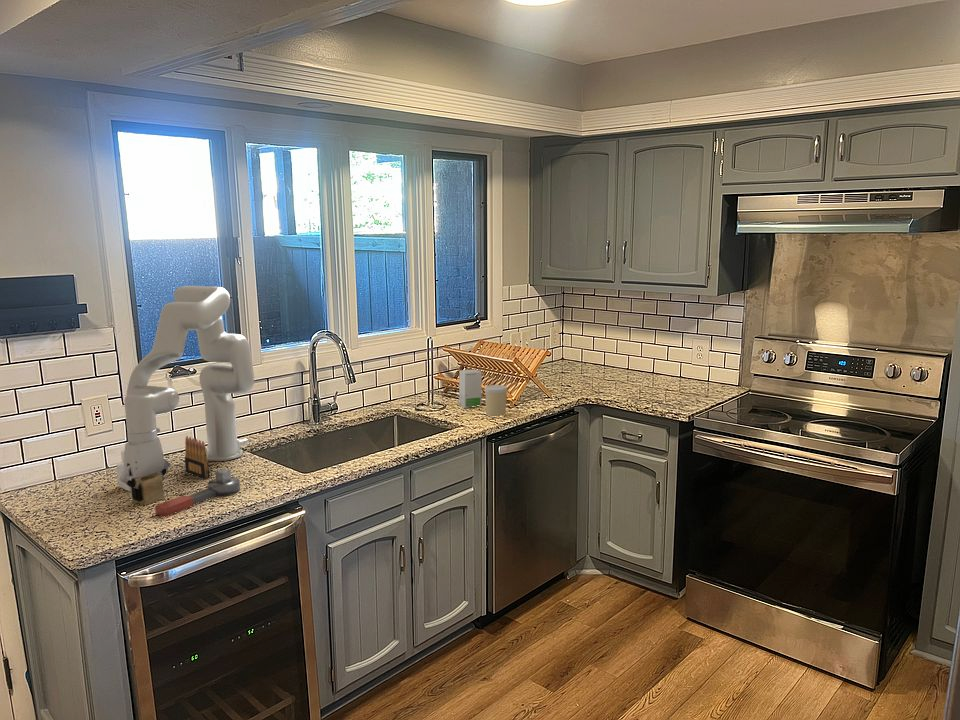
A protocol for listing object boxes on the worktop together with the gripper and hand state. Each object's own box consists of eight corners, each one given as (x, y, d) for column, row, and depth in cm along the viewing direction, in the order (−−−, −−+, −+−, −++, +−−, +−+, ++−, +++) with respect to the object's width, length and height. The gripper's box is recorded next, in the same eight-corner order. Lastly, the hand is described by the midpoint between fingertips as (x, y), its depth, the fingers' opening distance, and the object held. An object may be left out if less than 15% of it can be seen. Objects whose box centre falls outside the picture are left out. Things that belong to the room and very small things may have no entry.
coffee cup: (492, 411, 304) (493, 383, 302) (511, 415, 299) (511, 386, 297) (479, 416, 297) (479, 387, 294) (498, 420, 291) (498, 390, 289)
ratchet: (225, 483, 221) (224, 463, 220) (246, 488, 217) (245, 469, 216) (150, 512, 199) (148, 491, 198) (171, 518, 195) (169, 497, 194)
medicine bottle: (141, 480, 224) (138, 442, 222) (152, 485, 219) (149, 447, 217) (118, 486, 218) (114, 448, 216) (129, 492, 214) (125, 453, 212)
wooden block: (150, 494, 212) (148, 471, 211) (164, 498, 209) (162, 475, 208) (132, 501, 207) (130, 477, 206) (145, 505, 204) (143, 481, 203)
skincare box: (464, 409, 308) (464, 373, 305) (458, 405, 314) (458, 370, 311) (482, 406, 312) (482, 371, 309) (476, 403, 318) (475, 368, 315)
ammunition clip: (185, 472, 231) (182, 436, 229) (190, 470, 232) (187, 434, 230) (204, 479, 225) (201, 442, 222) (210, 477, 226) (207, 440, 224)
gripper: (160, 426, 214) (165, 484, 217) (105, 442, 199) (111, 504, 203) (177, 430, 210) (182, 489, 214) (122, 446, 195) (128, 509, 199)
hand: (147, 496), depth 208 cm, fingers closed on wooden block, 6 cm apart
